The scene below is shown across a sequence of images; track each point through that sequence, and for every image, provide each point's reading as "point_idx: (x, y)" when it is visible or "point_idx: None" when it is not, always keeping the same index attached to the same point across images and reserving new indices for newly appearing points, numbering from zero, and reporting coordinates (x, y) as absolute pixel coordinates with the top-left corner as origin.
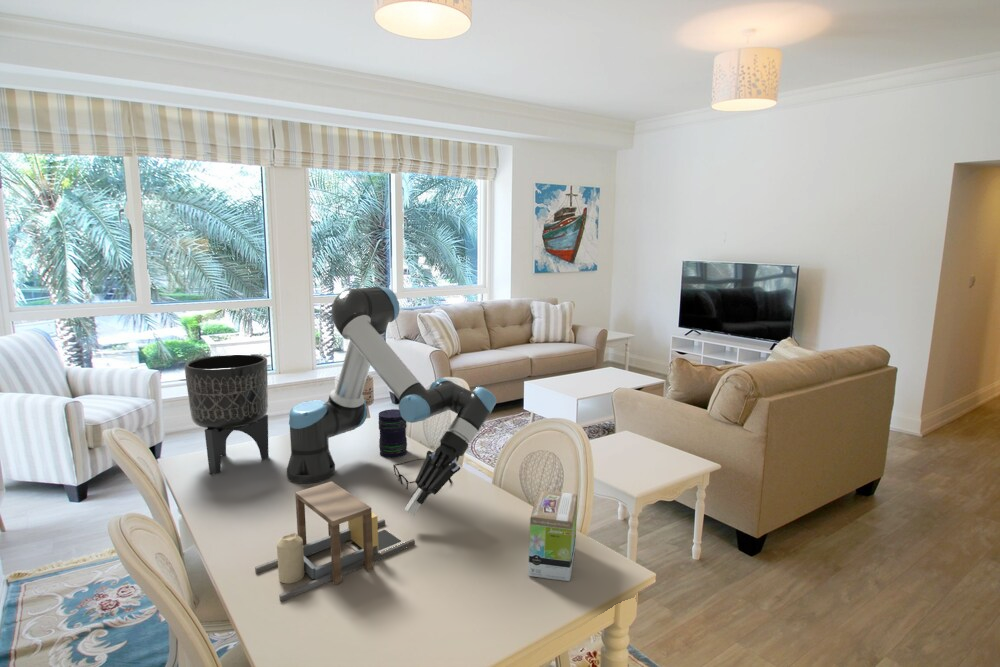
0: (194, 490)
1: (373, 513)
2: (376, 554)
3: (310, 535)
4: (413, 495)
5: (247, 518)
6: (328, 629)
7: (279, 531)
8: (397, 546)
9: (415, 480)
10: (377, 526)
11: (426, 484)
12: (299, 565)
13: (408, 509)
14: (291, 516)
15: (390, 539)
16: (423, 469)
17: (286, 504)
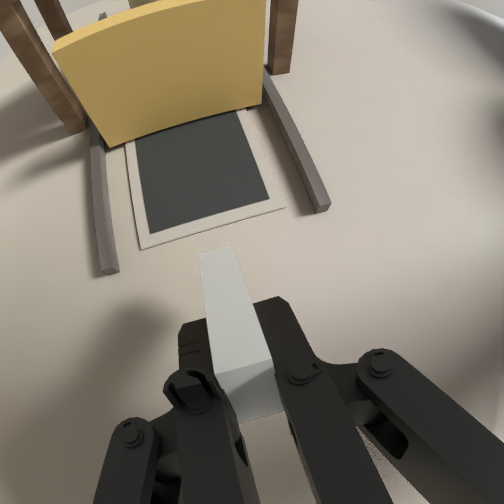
0: (492, 20)
1: (78, 39)
2: (97, 136)
3: (319, 43)
4: (251, 304)
5: (415, 12)
6: (4, 81)
7: (356, 18)
8: (98, 200)
9: (397, 356)
10: (69, 82)
11: (210, 437)
12: (130, 4)
13: (199, 260)
14: (419, 47)
15: (181, 199)
16: (465, 474)
17: (468, 62)
